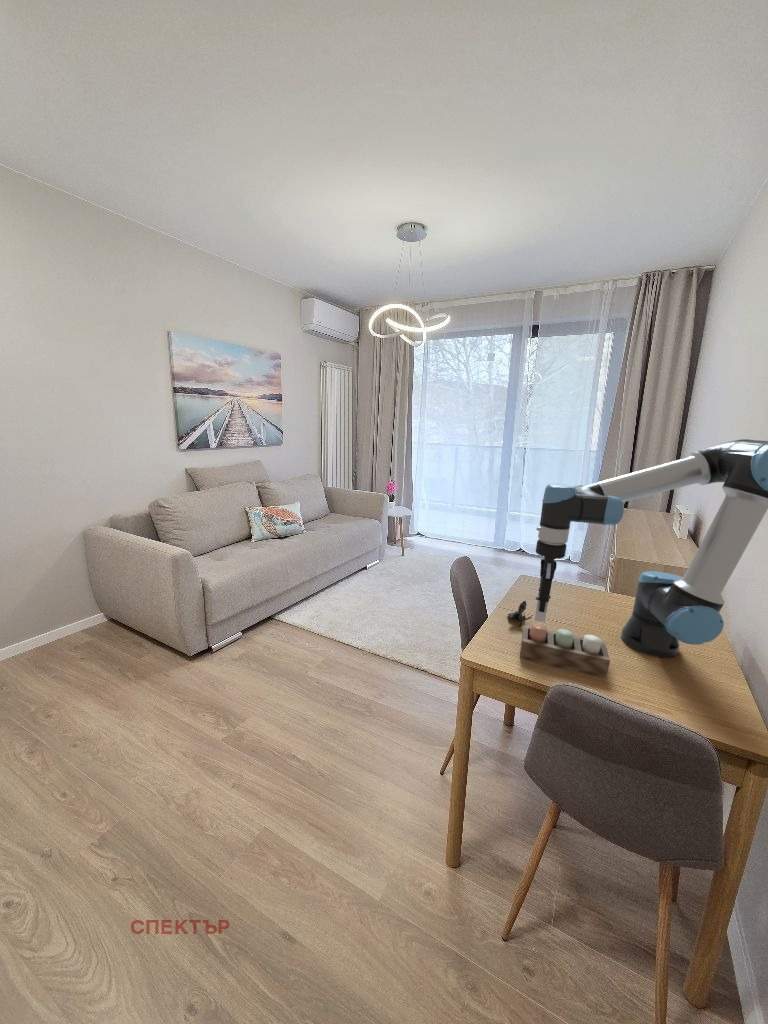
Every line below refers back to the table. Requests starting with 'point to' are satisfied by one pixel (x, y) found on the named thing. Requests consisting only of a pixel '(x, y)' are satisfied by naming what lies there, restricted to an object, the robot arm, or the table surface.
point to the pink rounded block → (538, 633)
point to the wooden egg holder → (565, 654)
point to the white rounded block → (591, 644)
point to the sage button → (564, 638)
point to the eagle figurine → (520, 613)
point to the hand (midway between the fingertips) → (539, 620)
